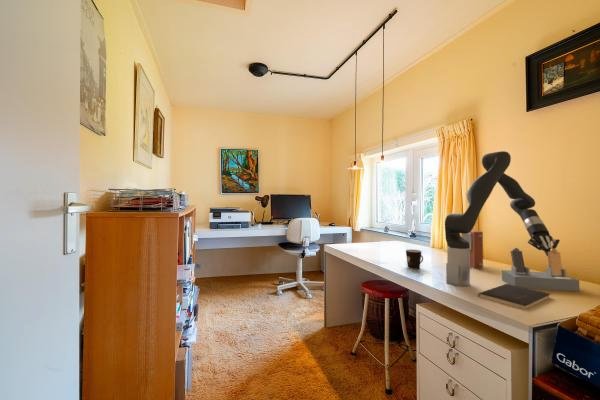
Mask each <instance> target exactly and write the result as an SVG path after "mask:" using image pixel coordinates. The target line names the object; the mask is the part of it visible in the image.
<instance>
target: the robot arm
mask: <svg viewBox="0 0 600 400" xmlns="http://www.w3.org/2000/svg"><path fill="white" fill-rule="evenodd" d="M511 159H512V157H511V154H510V153H509V152H507V151H503V150H501V151H495V152H490V153H486V154H484V155H482V158H481V165H482V167H483V169H484V170H485V171H486V172H484V173H483V174H481V175H479V176H478V177H477V178H476V179H475V180H473V182H472V183H471V184H470V186H469V188H468V190H467V192H466V198H467V199H466V201H467V203H468V206H467V208H466V210H465V211H464V212H463V213H456V212H455V213H452V212H451V213H449V214H447V215H446V217H445V220H444V235H445V241H446V247H447V248H446V249H447V253H446V258H447V259H446V260H447V262H446V265H445V267H446V269H445V270H446V272H445V274H446V277H445V279H446V283H447V284H450V285H454V286H457V287H467V286H470V284H471V280H470V279H471V276H470V275H471V274H470V273H471V272H470V271H471V269H470V268H471V267H470V244H469V242H468V241H466V240H465V239H463V238H462V237H461V233H463V234H466V233H469V232H471V230H474V227H475V225H476V223H477V221H478V218H479V215H480V213H481V212H482V209H483V207H484V205H485V204H486V202H487V201H488V199H489V197H490V196H491V194H492V192H493V191H494V188H495V186H496V185H497V183H498V184H499V186H501V188H502V189H503V190H504V192H505V193H506V195H507V196H508V198H509V199H511V201H510V203H509V206H510V208H511V209H512V210H513V211H514V212H515V213H516V214H517V215H518V216H519V217H520V219H521V221H522V222H523V225H524V227H525V230H526V231H527V233H528V235H529V237H530V238H529V239H528V241H527V244H529V245H531V246H532V247H534V248H535V249H536V250H539V251H543V252H544V253H545V255H546V256H547V257H548V252H550V250H551V249H557V247H558V245H559V243H560V239H555V238H553V236H552V235H550V231H549V229H548V228H547V226H546V225H545V223H544V221H543V220H542V219H541V218H540V216H539V214H538V212H537V211H536V210H535V209H533V207H535V206H536V201H535V199H534V198H533V197H532V196H531V195H530V194H528V193H526V192H525V190H523V188H522V186H521V185H520V182H518V181H517V180H516V179H515V178H513V177H511V176H510V175H508V174H507V173H505V172H506V171H507V169H508V168H509V166H510V164H511Z"/></svg>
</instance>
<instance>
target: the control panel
mask: <svg viewBox="0 0 600 400" xmlns="http://www.w3.org/2000/svg"><path fill="white" fill-rule="evenodd" d="M483 233H484V232H483V231H481V230H475V229H472V230H471V232H469V233H466V234H463V233H460V236H461V237H462V238H463V239H465V240H466V241H468V242H469V244H470V268H471V269H483V268H484V248H483V247H484V240H483V239H484V236H483V235H484V234H483Z"/></svg>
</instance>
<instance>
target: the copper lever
mask: <svg viewBox="0 0 600 400" xmlns="http://www.w3.org/2000/svg"><path fill="white" fill-rule="evenodd" d="M561 258H562V257H561V252H560V251H558V250H557V248H555V249H551V250H550V252H548V256H547V261H548V268H550V269H552V274H557V275H562V269H563V268H562V259H561Z"/></svg>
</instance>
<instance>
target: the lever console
mask: <svg viewBox="0 0 600 400" xmlns="http://www.w3.org/2000/svg"><path fill="white" fill-rule="evenodd" d="M510 267H511V268H510V269H511V270H510V269H509V270H506V269H505V270H504V269H502V270H501V281H503V283H505V284H509V285H514V286H518V287H523V288H527V289H532V290H544V291H545V290H546V291H563V292H580V279H578V278H575V277H573V276H569V275H567V269H566V268H562V275H557V274H552V269H550V268H549V267H545V270H546V271H530V267H528V266H525V270H526V273H517V268H516V267H514V266H513V265H511V266H510Z"/></svg>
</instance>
